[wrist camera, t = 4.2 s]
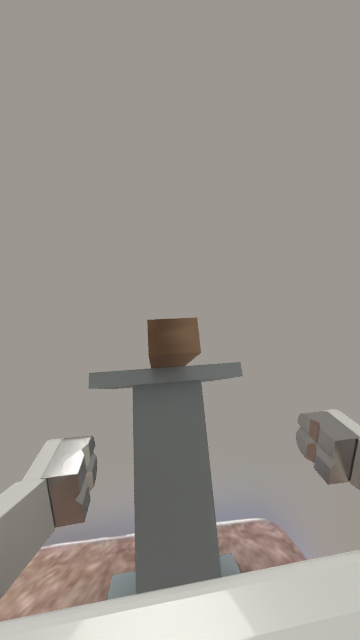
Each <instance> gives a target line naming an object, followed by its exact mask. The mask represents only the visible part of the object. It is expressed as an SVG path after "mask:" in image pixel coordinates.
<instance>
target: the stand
mask: <svg viewBox="0 0 360 640" xmlns="http://www.w3.org/2000/svg"><path fill="white" fill-rule="evenodd" d="M240 376H242V370H241V363H240V362H236V363H222V364H208V365H194V366H180V367H166V368H152V369H139V370H126V371H111V372H97V373H89V388H90V389H92V388H93V389H119V388H131V387H133V434H134V435H133V437H134V496H135V497H134V499H135V500H134V503H135V568H136V571H133V572H127V573H122V574H116V575H112V580H111V584H110V588H109V593H108V597H107V600H110V599H115V598H120V597H125V596H130V595H135V594H140V593H145V592H150V591H155V590H160V589H165V588H170V587H175V586H180V585H186V584H191V583H196V582H201V581H206V580H211V579H216V578H221V577H226V576H231V575H236V574H241V572H240V570H239V568H238V565H237V563H236V561H235V559H234V557H233V555H232V553H230V554H224V555H219V547H218V537H217V528H216V518H215V509H214V499H213V490H212V481H211V471H210V461H209V452H208V442H207V433H206V423H205V414H204V404H203V395H202V385H201V382H204V381H214V380H221V379H227V378H234V377H240Z"/></svg>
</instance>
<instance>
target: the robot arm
mask: <svg viewBox="0 0 360 640" xmlns="http://www.w3.org/2000/svg"><path fill="white" fill-rule="evenodd" d="M298 423H299V425H300V428H299V430H298V431H297V433H296V440H297V444H298V448H299V449H300V451H301V453H302V454H303V455H304V457H305V458H307V459H308V460H310V461H312V462H314V468H315V470H316V471H317V472H318V473H319V475H320V476H321V477H322V478H323V479H324V480H325V482H326V483H327V484H337V483H344V482H350V484H352V485H353V486H355V487H356V488H358V489H360V426H359V425H358V424H357V423H355V422H354V421H353V420H351V419H350V418H348V417H347V416H346V415H344V414H343V413H342V412H340V411H338V410H336V409H333V410H325V411H319V412H311V413H302V414H300V415H299V417H298ZM94 447H95V441H94V437H93V436H87V437H73V438H64V439H54V440H48V441H47V442H46V443H45V444H44V446H43V447H42V449H41V451H40V452H39V454H38V456H37V457H36V459H35V460H34V462H33V464H32V465H31V467H30V469H29V470H28V472H27V473H26V475H25V476H24V478H23V480H22V481H21V482H16V483H15V484H13V485H12V486H11V487H10V488H8V489H7V490H6V491H4V492H3V493H2V494H0V599H1V598H2V596H3V595H4V594H5V593H6V591H7V590H8V589H9V588H10V586H11V585H12V584H13V582H14V581H15V580H16V579H17V577H18V576H19V575H20V574H21V572H22V571H23V570H24V568H25V567H26V566H27V565H28V563H29V562H30V561H31V560H32V558H33V557H34V556H35V554H36V553H37V552H38V551H39V549H40V548H41V547H42V546H43V544H44V543H45V542H46V540H47V539H48V538H49V537H50V535H51V534H52V533H53V532H54V530H55V527H61V526H66V525H72V524H77V523H82V522H85V518H86V514H87V511H88V507H89V503H90V493H89V491H90V490H91V489H92V488H93V487H94V484H95V480H96V472H97V457H96V455H95V454H94V453H93V450H94ZM0 640H360V550H356V551H351V552H346V553H341V554H336V555H331V556H326V557H321V558H316V559H311V560H306V561H301V562H296V563H291V564H286V565H281V566H276V567H271V568H266V569H261V570H256V571H251V572H246V573H241V574H236V575H231V576H226V577H221V578H216V579H211V580H206V581H201V582H196V583H191V584H186V585H180V586H175V587H170V588H165V589H160V590H155V591H150V592H145V593H140V594H135V595H130V596H125V597H120V598H115V599H110V600H105V601H100V602H95V603H90V604H85V605H80V606H75V607H70V608H65V609H60V610H55V611H50V612H45V613H40V614H35V615H30V616H25V617H20V618H15V619H10V620H5V621H0Z"/></svg>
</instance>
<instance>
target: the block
mask: <svg viewBox="0 0 360 640" xmlns="http://www.w3.org/2000/svg"><path fill="white" fill-rule="evenodd" d="M147 322H148V347H149V359H150V364H151V369H152V368H166V367H180V366H185V365H186V364H187V363H189V362H190V361H191V360H193V359H194V358H195V357H196V356H197V355H199V354H200V353H201V349H200V340H199V331H198V323H197V318H181V319H157V320H148V321H147Z"/></svg>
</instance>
